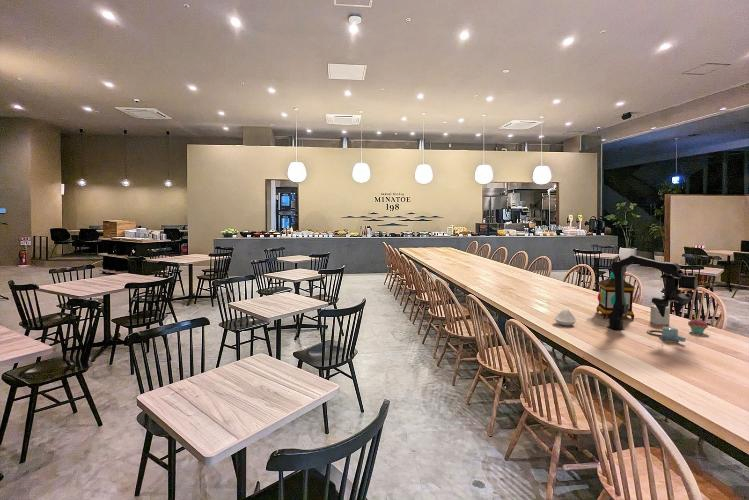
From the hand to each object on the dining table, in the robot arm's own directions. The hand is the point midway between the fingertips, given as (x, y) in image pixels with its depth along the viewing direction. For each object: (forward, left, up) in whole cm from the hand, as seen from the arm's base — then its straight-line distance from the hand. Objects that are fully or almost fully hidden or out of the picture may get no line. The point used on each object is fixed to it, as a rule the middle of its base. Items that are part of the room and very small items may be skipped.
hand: (669, 316), depth 204 cm
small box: (+23, +26, -13) cm, 37 cm away
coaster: (0, 0, -12) cm, 12 cm away
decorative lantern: (+11, +47, -13) cm, 50 cm away
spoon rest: (-28, +43, -13) cm, 53 cm away
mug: (0, -3, -12) cm, 12 cm away
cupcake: (+26, +6, -13) cm, 30 cm away
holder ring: (+3, +9, -12) cm, 16 cm away
